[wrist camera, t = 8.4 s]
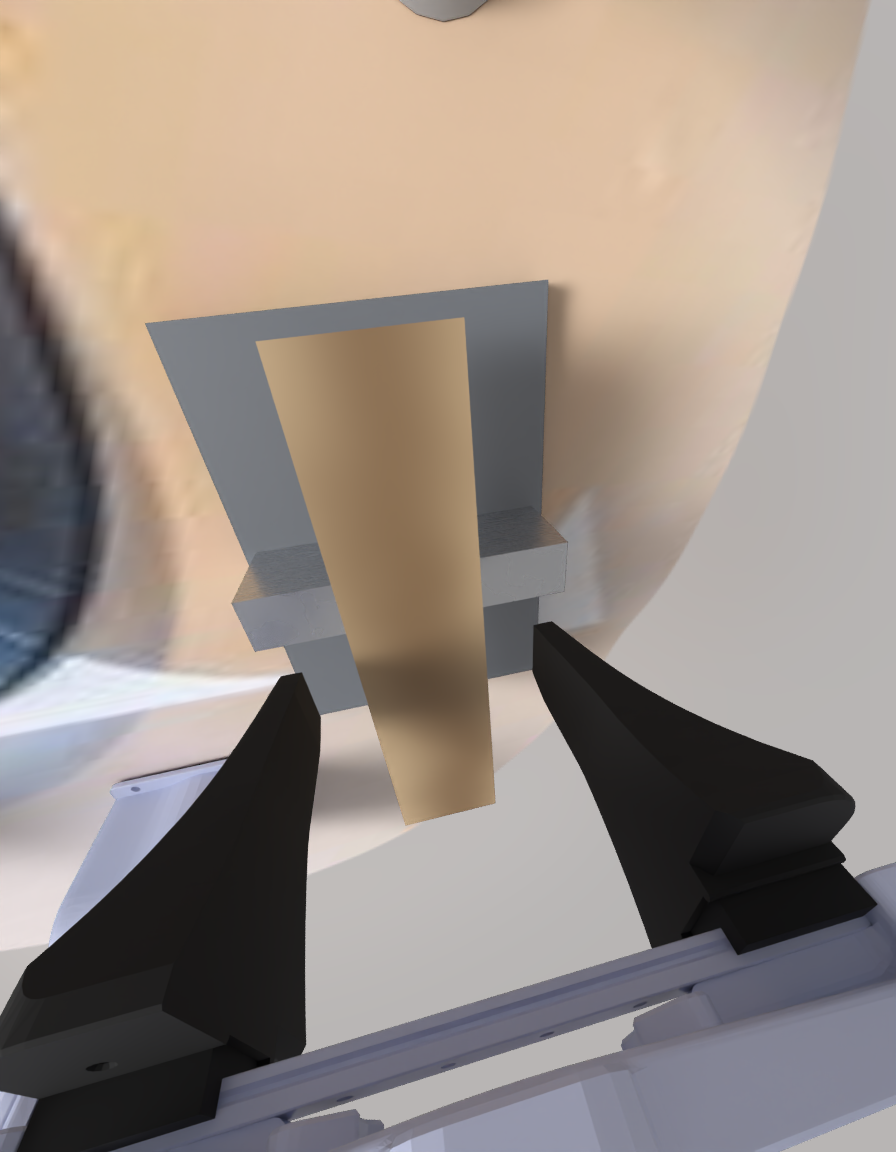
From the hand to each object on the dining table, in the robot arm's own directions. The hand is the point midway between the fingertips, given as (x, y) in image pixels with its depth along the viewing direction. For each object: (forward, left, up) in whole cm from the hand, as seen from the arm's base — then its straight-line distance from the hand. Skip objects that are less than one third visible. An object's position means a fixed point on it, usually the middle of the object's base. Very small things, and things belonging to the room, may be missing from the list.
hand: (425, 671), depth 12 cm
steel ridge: (0, 0, -8) cm, 8 cm away
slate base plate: (0, 0, -9) cm, 9 cm away
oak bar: (0, 0, -4) cm, 4 cm away
